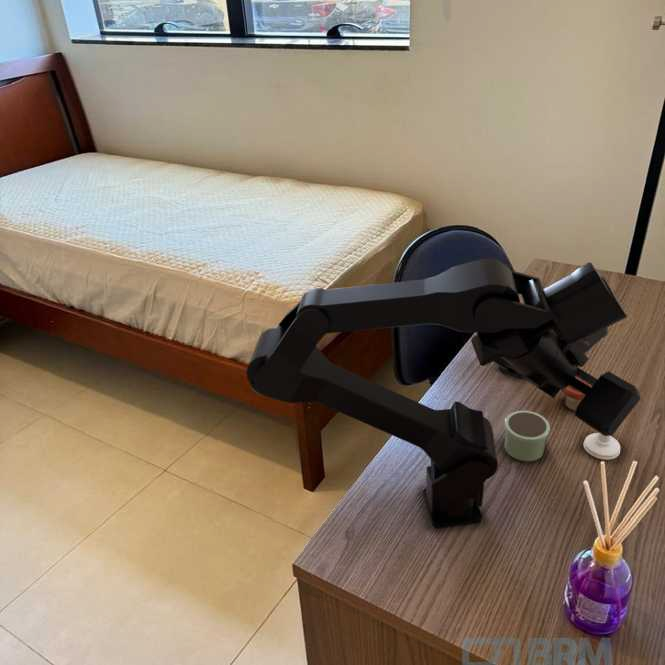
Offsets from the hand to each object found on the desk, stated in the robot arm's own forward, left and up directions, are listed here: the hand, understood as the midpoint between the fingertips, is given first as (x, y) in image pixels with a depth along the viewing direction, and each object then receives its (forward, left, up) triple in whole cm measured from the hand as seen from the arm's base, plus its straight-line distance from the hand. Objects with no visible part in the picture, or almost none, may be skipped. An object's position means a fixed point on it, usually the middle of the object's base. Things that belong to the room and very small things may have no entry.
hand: (578, 393), depth 79 cm
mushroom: (+7, +12, -13) cm, 19 cm away
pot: (-4, +5, -13) cm, 14 cm away
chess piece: (+7, +3, -13) cm, 15 cm away
